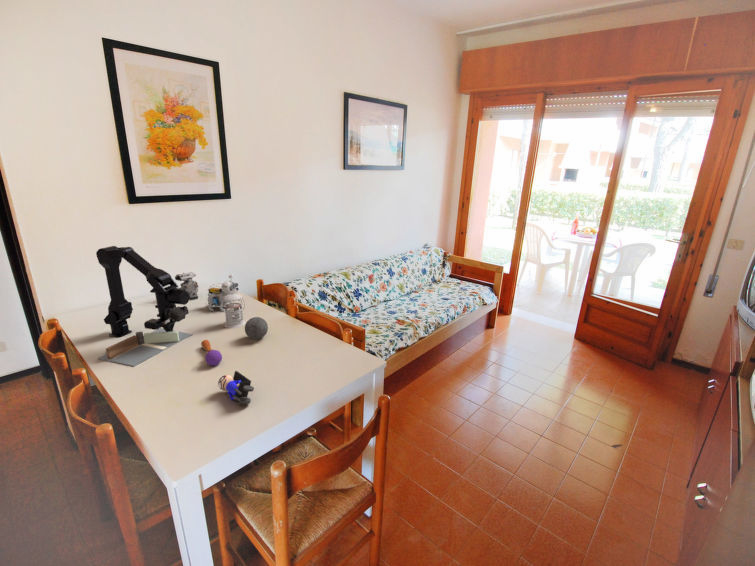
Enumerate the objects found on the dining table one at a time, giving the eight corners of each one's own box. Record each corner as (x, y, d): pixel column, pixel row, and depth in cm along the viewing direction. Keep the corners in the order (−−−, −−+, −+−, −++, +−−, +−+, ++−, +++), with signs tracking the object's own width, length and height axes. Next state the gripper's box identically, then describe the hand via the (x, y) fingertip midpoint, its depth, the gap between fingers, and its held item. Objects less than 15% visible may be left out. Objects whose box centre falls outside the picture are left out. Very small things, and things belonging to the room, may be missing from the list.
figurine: (174, 298, 211) (170, 273, 206) (195, 294, 219) (192, 269, 214) (180, 302, 205) (176, 276, 200) (201, 298, 213) (198, 273, 208)
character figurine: (239, 412, 117) (217, 393, 126) (259, 401, 122) (237, 383, 132) (235, 391, 114) (213, 373, 124) (256, 381, 119) (233, 364, 129)
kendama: (213, 336, 158) (224, 352, 142) (212, 349, 159) (222, 367, 143) (198, 337, 155) (207, 353, 138) (197, 350, 155) (206, 368, 139)
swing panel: (146, 341, 158) (144, 333, 156) (179, 339, 161) (178, 331, 159) (144, 343, 156) (143, 334, 155) (178, 341, 159) (177, 332, 158)
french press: (219, 325, 178) (214, 276, 171) (236, 317, 188) (232, 270, 181) (235, 329, 174) (231, 278, 167) (252, 320, 185) (249, 272, 177)
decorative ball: (240, 339, 164) (238, 319, 161) (257, 331, 173) (255, 312, 170) (257, 345, 160) (255, 324, 157) (273, 336, 168) (272, 316, 166)
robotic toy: (235, 312, 194) (232, 285, 189) (202, 311, 194) (199, 284, 189) (243, 304, 206) (241, 278, 202) (212, 303, 206) (210, 277, 202)
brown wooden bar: (106, 358, 144) (104, 346, 142) (141, 341, 158) (139, 331, 157) (111, 359, 143) (109, 348, 142) (145, 342, 158) (144, 332, 156)
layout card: (97, 358, 144) (97, 357, 144) (160, 328, 172) (160, 328, 172) (133, 366, 140) (133, 365, 140) (192, 334, 167) (192, 333, 167)
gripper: (162, 312, 146) (169, 347, 150) (196, 296, 163) (201, 329, 168) (140, 309, 148) (147, 344, 153) (175, 294, 165) (180, 326, 170)
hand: (170, 335), depth 161 cm, fingers closed
